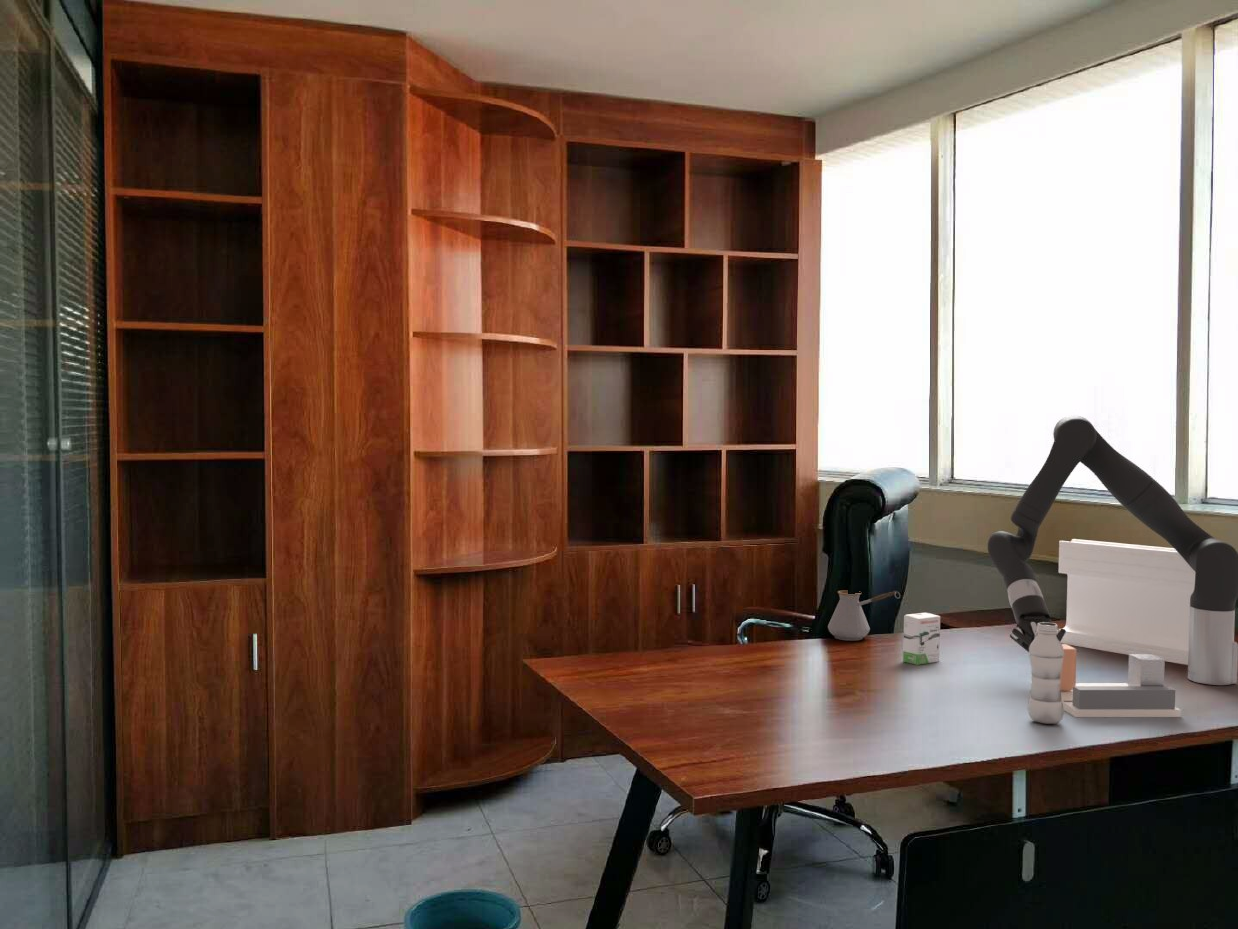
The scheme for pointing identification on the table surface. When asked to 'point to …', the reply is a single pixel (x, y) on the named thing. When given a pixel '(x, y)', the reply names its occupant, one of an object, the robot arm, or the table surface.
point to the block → (1127, 598)
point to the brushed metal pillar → (1145, 670)
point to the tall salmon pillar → (1068, 668)
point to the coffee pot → (851, 616)
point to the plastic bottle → (1046, 675)
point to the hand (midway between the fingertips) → (1048, 666)
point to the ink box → (921, 638)
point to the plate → (1113, 711)
